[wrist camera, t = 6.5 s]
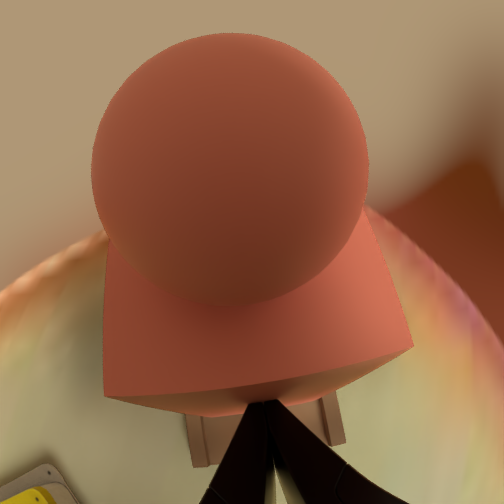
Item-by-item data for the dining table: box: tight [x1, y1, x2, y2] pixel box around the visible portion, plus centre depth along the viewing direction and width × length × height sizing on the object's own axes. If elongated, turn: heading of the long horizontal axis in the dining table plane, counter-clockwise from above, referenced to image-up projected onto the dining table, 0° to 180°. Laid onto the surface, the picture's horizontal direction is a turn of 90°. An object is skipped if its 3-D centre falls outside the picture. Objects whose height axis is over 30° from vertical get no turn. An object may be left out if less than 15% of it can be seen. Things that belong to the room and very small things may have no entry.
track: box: [185, 391, 346, 468], centre depth 16 cm, size 14×8×2 cm, turn 9°
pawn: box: [91, 33, 414, 417], centre depth 9 cm, size 5×5×15 cm
